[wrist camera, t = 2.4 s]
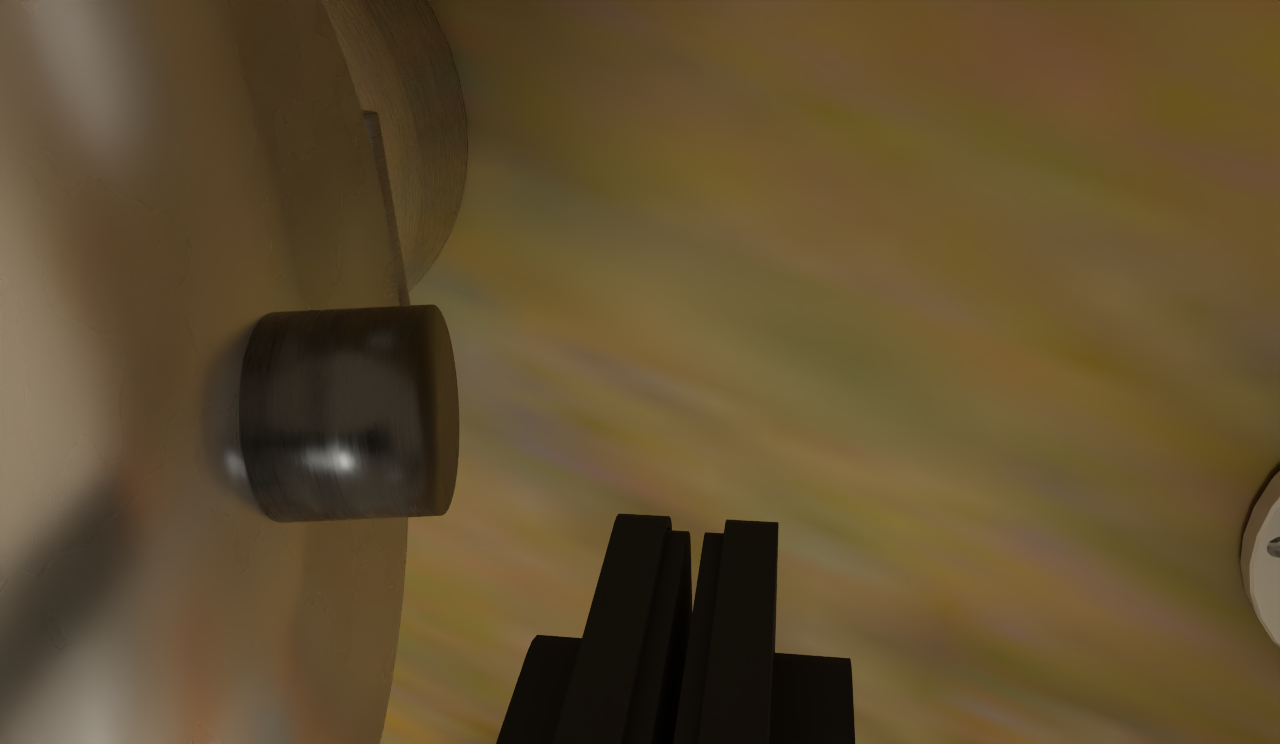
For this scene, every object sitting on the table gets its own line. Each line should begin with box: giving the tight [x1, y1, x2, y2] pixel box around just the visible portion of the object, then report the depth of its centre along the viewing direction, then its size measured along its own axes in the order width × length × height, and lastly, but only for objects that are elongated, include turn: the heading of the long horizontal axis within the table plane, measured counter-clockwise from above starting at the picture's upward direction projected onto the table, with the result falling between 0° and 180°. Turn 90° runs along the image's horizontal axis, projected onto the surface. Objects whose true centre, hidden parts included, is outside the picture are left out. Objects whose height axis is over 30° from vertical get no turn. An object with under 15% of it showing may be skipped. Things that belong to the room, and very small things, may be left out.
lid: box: [0, 0, 459, 744], centre depth 16 cm, size 17×16×4 cm
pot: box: [321, 0, 468, 293], centre depth 26 cm, size 16×24×10 cm
